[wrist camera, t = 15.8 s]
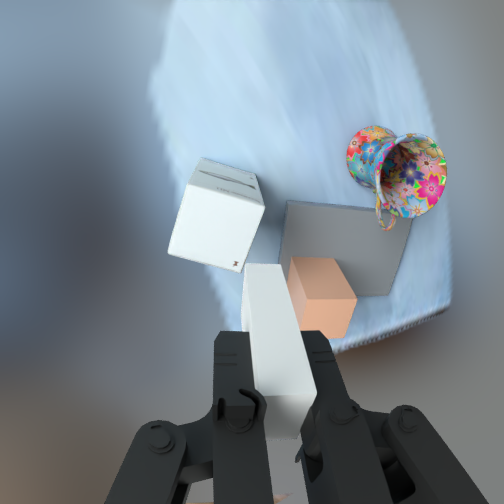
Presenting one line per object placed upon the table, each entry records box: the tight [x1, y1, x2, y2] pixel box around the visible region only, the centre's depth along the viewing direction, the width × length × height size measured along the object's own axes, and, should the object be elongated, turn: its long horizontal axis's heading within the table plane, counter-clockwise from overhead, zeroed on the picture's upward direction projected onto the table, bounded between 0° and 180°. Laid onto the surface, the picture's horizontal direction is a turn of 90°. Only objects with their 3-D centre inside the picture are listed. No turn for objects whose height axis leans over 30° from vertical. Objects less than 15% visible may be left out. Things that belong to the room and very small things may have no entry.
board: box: [278, 201, 413, 296], centre depth 43 cm, size 14×19×2 cm
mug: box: [347, 126, 447, 231], centre depth 33 cm, size 12×9×11 cm
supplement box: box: [168, 157, 265, 273], centre depth 33 cm, size 7×7×13 cm
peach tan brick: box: [287, 257, 357, 339], centre depth 39 cm, size 6×6×10 cm
